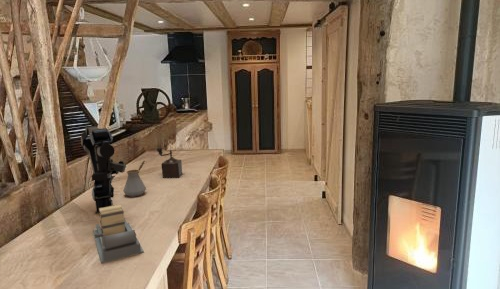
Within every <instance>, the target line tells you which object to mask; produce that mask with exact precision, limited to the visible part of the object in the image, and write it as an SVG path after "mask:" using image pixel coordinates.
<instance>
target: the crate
mask: <svg viewBox="0 0 500 289" xmlns="http://www.w3.org/2000/svg"><path fill="white" fill-rule="evenodd" d="M124 212H125V211H124V208H123V206H121V204H119V203H118V204H116V205H114V204H113V206H109V207H103V208H99V213H98V214H99V221H100V223H99V224H100V228H101V229H102V233H104V236H109V235H113V234H118V233H122V232H125V221H124V218H125V215H124Z"/></svg>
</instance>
